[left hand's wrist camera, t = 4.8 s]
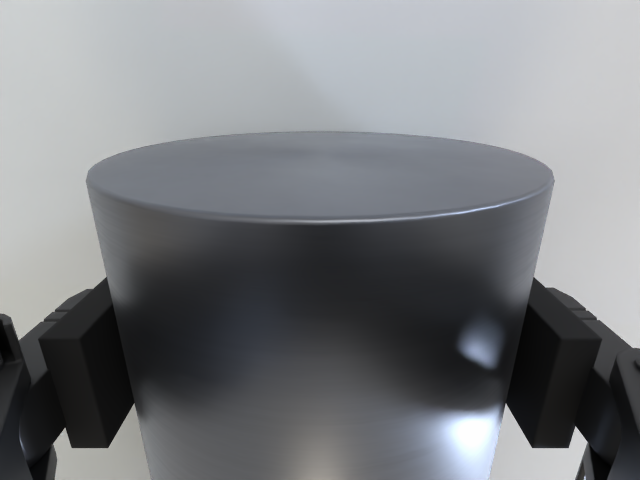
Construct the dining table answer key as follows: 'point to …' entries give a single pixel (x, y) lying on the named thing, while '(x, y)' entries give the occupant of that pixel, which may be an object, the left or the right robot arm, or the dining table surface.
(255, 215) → the rod
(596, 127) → the dining table surface
